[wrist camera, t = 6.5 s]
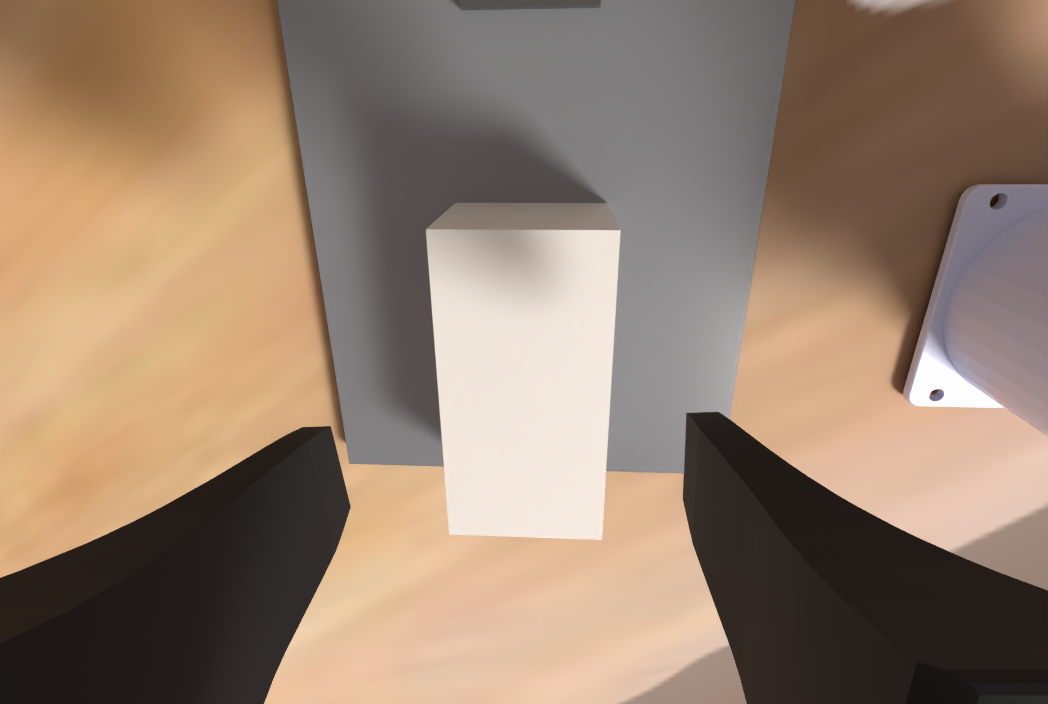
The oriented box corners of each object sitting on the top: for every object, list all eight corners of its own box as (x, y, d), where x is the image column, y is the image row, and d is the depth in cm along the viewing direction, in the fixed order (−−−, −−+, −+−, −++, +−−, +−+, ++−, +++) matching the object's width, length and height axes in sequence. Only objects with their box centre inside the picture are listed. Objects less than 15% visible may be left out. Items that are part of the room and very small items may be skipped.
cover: (607, 203, 18) (620, 230, 14) (594, 460, 22) (601, 539, 18) (455, 202, 19) (425, 229, 15) (469, 456, 23) (449, 534, 19)
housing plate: (840, -373, 14) (871, -426, 12) (714, 459, 23) (723, 482, 22) (241, -339, 15) (207, -386, 13) (357, 449, 24) (344, 471, 23)
